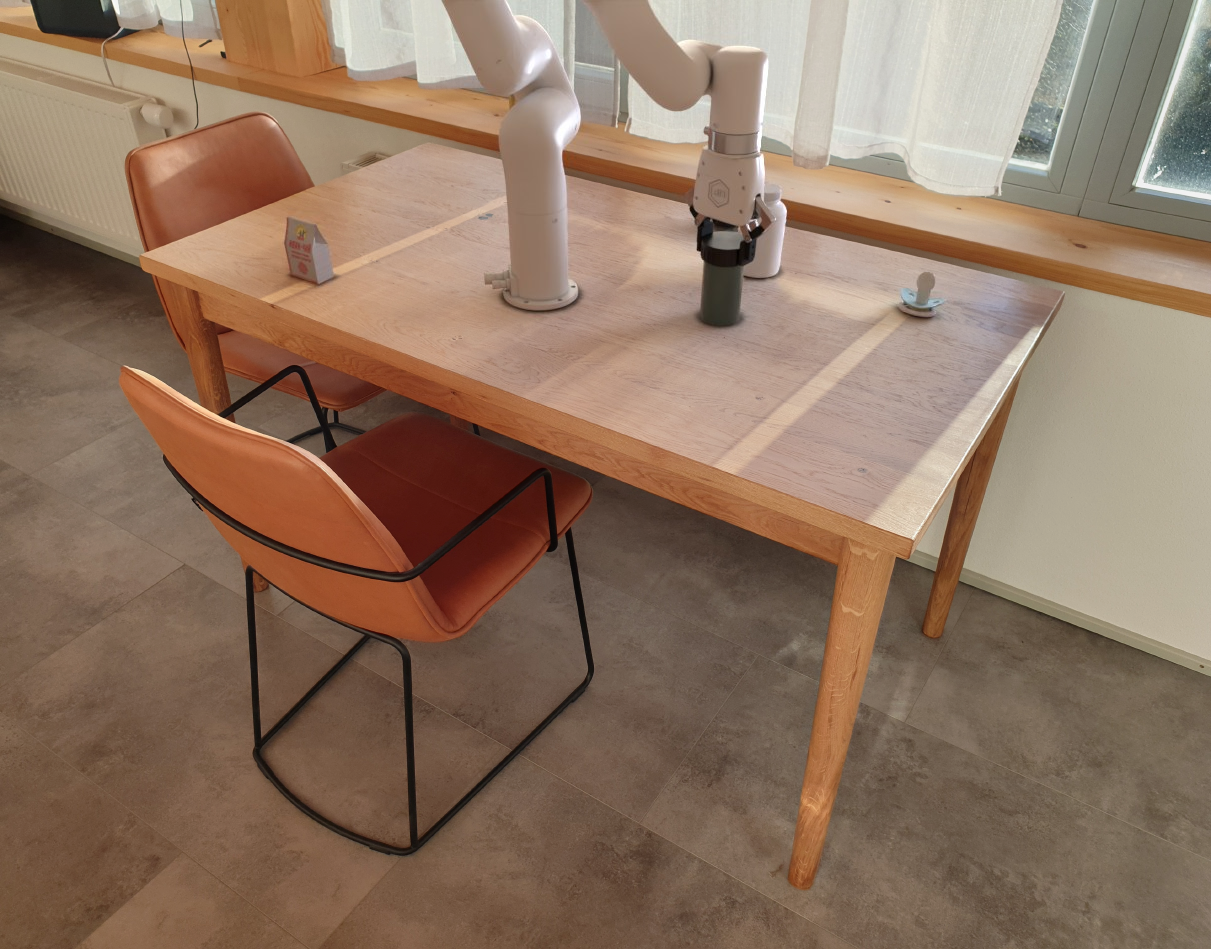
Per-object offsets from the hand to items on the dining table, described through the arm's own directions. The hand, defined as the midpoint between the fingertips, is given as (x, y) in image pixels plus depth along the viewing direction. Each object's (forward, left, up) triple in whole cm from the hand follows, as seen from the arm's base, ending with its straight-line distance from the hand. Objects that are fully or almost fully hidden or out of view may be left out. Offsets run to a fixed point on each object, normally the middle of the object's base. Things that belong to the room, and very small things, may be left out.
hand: (724, 255), depth 145 cm
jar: (0, 0, -11) cm, 11 cm away
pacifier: (+33, -2, -11) cm, 35 cm away
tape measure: (+11, +39, -11) cm, 42 cm away
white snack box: (-67, +25, -11) cm, 72 cm away
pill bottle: (+11, +17, -11) cm, 23 cm away
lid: (0, 0, +2) cm, 2 cm away
